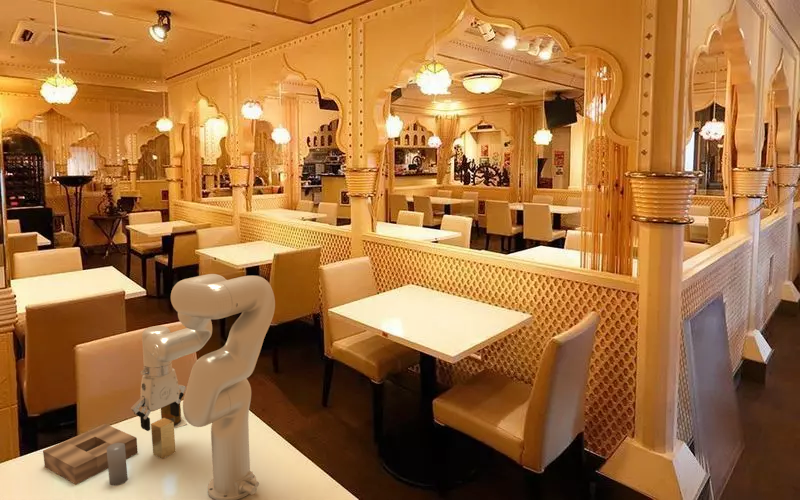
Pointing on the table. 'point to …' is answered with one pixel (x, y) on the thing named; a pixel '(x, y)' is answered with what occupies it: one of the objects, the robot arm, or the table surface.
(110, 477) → the round peg
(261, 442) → the table surface
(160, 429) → the square peg
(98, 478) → the table surface
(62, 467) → the socket block
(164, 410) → the condiment
